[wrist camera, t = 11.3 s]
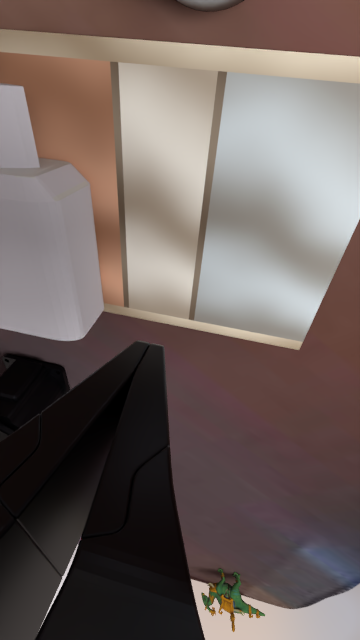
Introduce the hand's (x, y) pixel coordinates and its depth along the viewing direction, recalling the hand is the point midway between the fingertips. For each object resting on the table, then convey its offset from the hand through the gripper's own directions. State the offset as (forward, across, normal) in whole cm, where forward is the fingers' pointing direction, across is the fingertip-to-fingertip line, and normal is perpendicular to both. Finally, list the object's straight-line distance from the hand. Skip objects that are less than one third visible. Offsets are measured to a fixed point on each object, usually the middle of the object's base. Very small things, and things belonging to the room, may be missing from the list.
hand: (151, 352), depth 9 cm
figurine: (+11, -15, +69) cm, 72 cm away
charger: (+11, +11, 0) cm, 16 cm away
